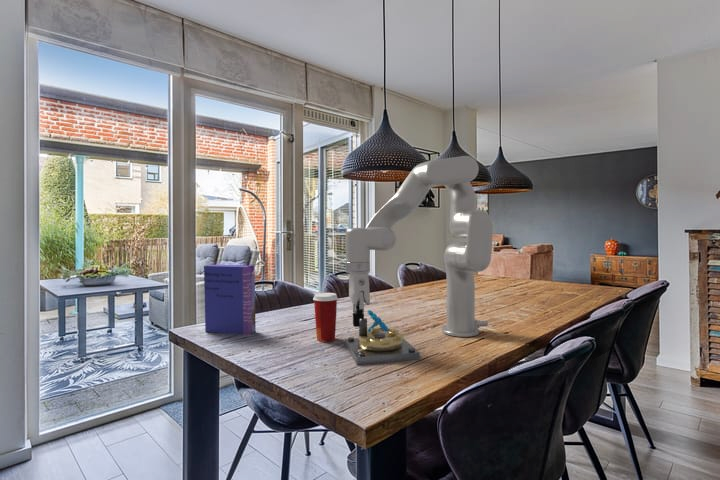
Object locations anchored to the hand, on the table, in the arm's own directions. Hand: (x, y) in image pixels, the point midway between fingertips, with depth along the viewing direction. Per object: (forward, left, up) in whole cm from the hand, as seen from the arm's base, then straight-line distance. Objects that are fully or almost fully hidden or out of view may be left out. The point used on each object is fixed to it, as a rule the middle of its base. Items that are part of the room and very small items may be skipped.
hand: (358, 325), depth 124 cm
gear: (-11, -16, -7) cm, 20 cm away
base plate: (-5, +7, -6) cm, 11 cm away
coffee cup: (+9, -10, -6) cm, 15 cm away
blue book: (+41, -28, -7) cm, 50 cm away
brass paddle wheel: (-5, +8, -4) cm, 10 cm away
